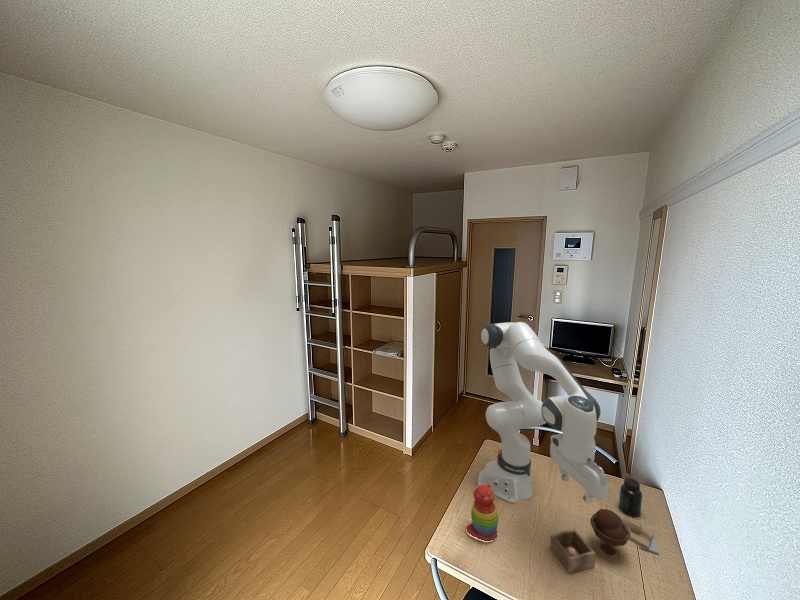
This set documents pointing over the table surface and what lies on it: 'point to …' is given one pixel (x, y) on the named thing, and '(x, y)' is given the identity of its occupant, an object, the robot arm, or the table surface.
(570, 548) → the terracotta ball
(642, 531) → the lid
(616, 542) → the ice cream bowl
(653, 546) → the felt pad
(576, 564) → the walnut box
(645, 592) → the table surface
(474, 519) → the stacking bear
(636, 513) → the supplement bottle
